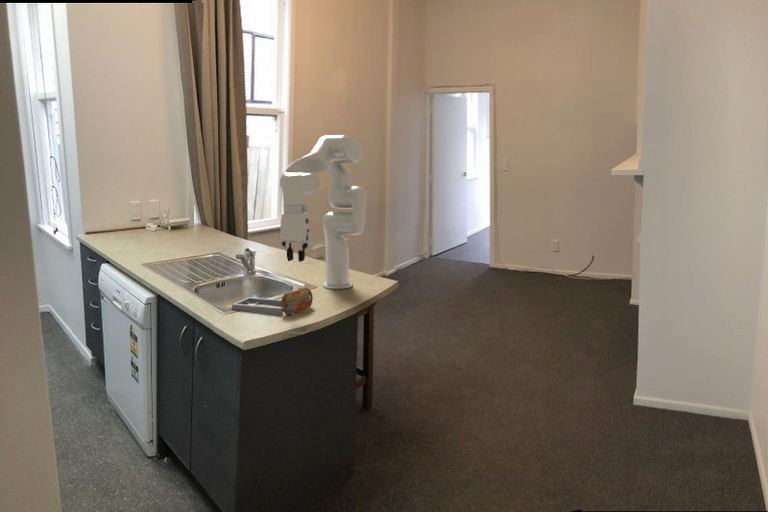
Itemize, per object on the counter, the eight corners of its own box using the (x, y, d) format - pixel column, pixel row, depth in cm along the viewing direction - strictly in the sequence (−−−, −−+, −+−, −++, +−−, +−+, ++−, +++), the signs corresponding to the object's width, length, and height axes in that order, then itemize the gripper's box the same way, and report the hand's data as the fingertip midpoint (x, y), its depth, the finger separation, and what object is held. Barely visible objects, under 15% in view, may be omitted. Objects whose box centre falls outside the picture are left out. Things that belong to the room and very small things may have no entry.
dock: (248, 303, 225) (248, 297, 225) (295, 307, 219) (295, 301, 218) (232, 311, 214) (231, 304, 214) (281, 315, 208) (281, 308, 208)
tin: (286, 317, 206) (285, 294, 204) (279, 316, 207) (279, 293, 206) (313, 308, 218) (313, 286, 217) (307, 307, 220) (306, 285, 218)
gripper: (320, 209, 207) (321, 260, 210) (278, 208, 212) (280, 257, 215) (311, 211, 200) (312, 263, 203) (268, 210, 205) (270, 261, 208)
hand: (295, 260), depth 209 cm, fingers open, 3 cm apart
